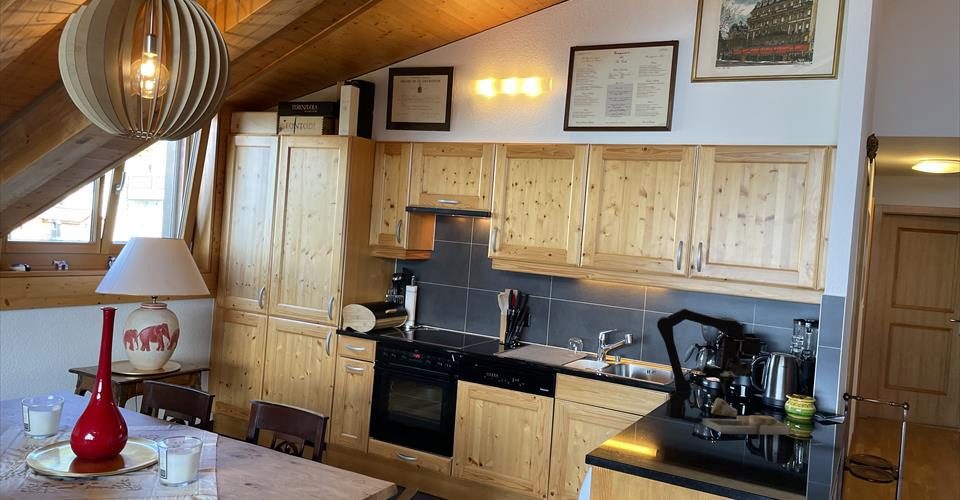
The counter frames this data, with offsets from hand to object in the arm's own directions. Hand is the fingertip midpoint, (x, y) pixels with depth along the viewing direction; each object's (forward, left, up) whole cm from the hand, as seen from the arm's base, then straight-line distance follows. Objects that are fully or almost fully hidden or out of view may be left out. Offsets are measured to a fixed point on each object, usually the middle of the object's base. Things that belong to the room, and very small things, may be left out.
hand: (725, 393), depth 286 cm
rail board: (+5, -7, -12) cm, 15 cm away
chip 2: (+15, -7, -11) cm, 20 cm away
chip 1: (+11, -7, -11) cm, 17 cm away
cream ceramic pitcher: (+11, +13, -12) cm, 21 cm away
